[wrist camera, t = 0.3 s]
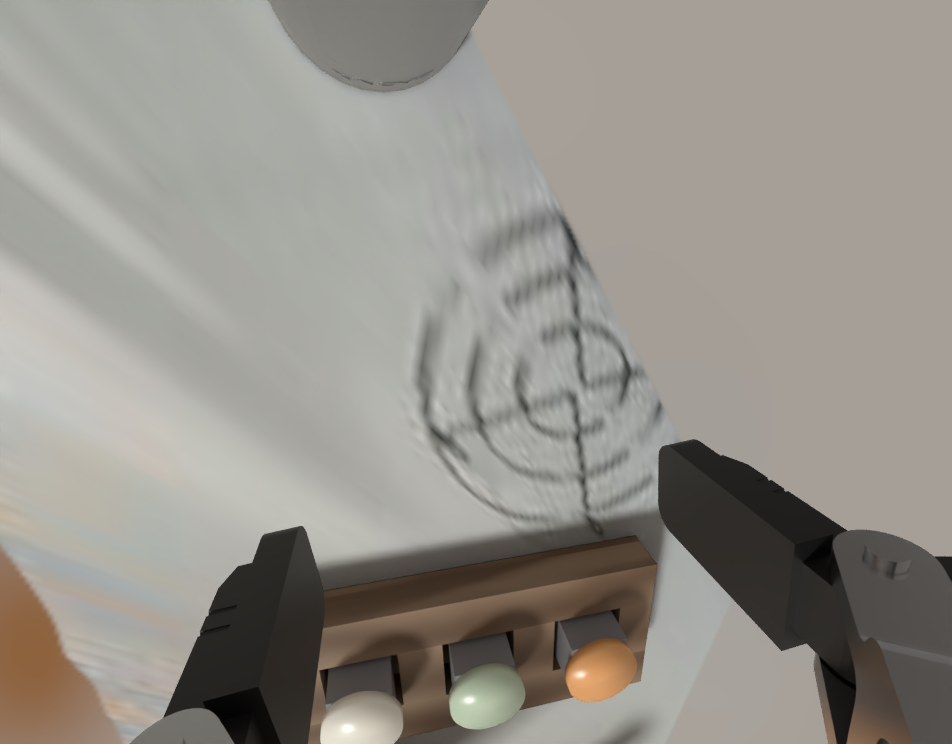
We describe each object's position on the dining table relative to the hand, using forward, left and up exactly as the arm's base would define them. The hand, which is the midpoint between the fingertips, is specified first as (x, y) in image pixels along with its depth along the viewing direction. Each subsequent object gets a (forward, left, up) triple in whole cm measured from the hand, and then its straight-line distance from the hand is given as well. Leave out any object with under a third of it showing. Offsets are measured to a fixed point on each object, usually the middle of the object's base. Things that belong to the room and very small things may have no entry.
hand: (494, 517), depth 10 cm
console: (+24, +2, -18) cm, 30 cm away
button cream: (+24, -6, -16) cm, 29 cm away
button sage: (+24, +2, -16) cm, 29 cm away
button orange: (+24, +10, -16) cm, 31 cm away
